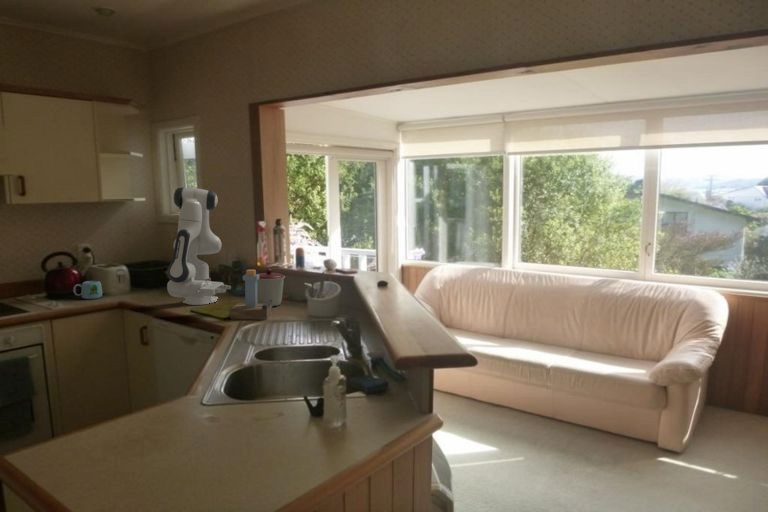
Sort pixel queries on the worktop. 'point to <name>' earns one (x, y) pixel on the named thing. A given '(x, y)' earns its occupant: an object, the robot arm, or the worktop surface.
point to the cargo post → (251, 290)
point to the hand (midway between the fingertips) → (228, 289)
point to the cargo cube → (251, 273)
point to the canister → (270, 287)
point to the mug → (90, 290)
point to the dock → (251, 311)
